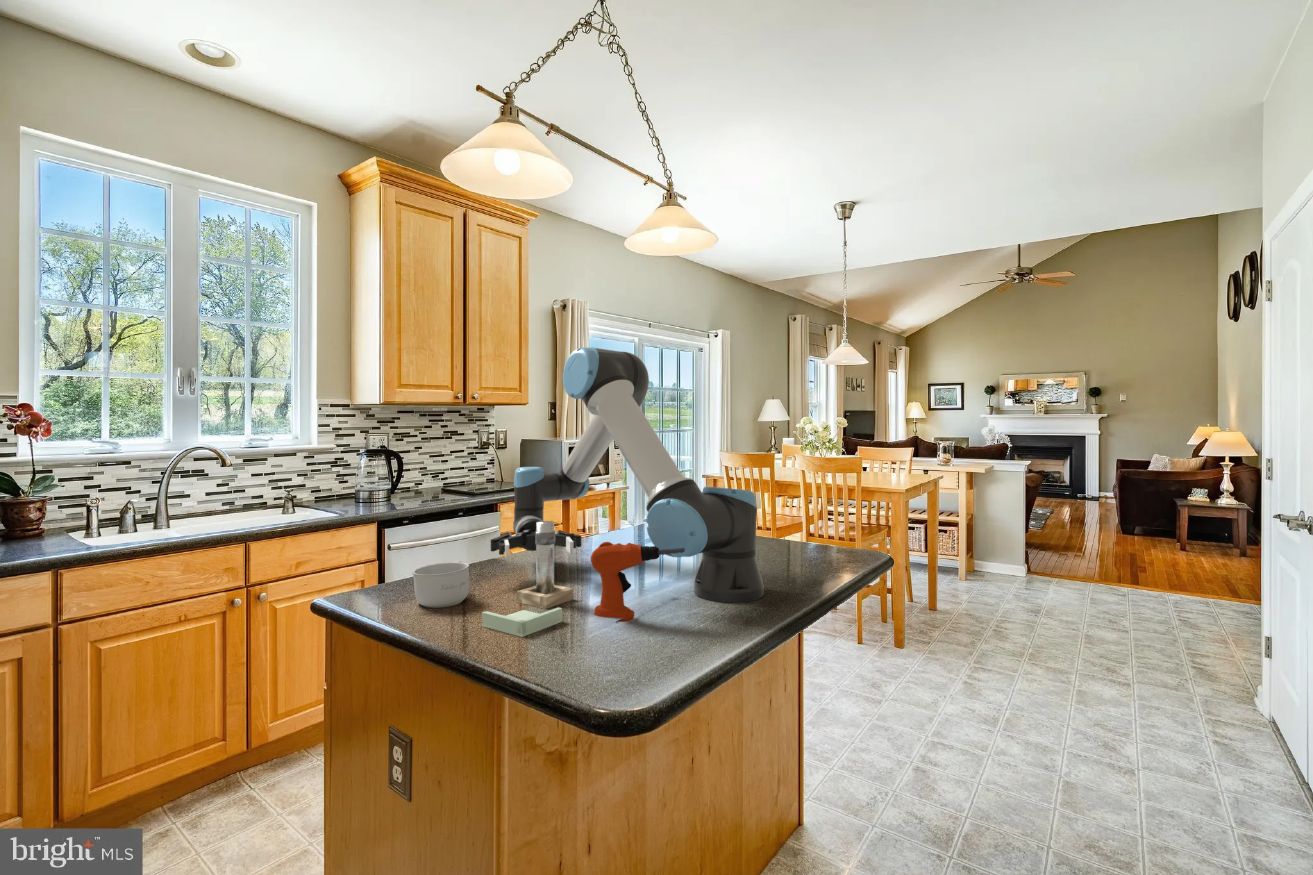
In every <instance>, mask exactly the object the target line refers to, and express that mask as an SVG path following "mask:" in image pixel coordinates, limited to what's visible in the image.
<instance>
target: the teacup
mask: <svg viewBox="0 0 1313 875" xmlns="http://www.w3.org/2000/svg"><path fill="white" fill-rule="evenodd" d="M469 568H470V564H469V563H466V562H462V561H461V560H455V561H450V562H439V563H432V564H428V565H424V566H420V567H417V568H416V569H414V570H412V576H413V586H414V588H413V589H414V596H415V599H416V601H417V603H418V604H420V605H421V606H423V607H424V608H425V607H426V608H435V609H437V608H438V609H439V608H448V607H453V606H457V605H459V604H461V603H462V602H463V601H464V600H466V598H467V596H468V595H469V591H470V573H469V570H470V569H469Z"/></svg>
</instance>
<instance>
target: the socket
mask: <svg viewBox="0 0 1313 875" xmlns="http://www.w3.org/2000/svg"><path fill="white" fill-rule="evenodd" d="M572 600H574V588H573V587H572V588H571V587H567V586H562V585H556V584H554V592H552V593H549V594H541V593H536V585H533V586H530V587H527V588H523V589H519V590H516V603H518V604H523V605H525V606H526V605H528V606H532V607H537V608H541V609H545V610H546V609H549V608H552V607H555V606H557V605H561V604H564V603H566V602H570V601H572Z"/></svg>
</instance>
